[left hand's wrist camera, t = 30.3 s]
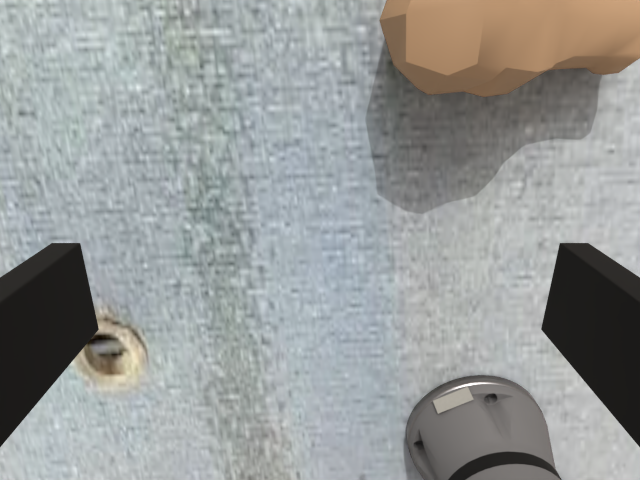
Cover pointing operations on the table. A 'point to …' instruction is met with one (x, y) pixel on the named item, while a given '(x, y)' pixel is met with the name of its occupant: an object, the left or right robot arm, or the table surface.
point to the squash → (506, 40)
